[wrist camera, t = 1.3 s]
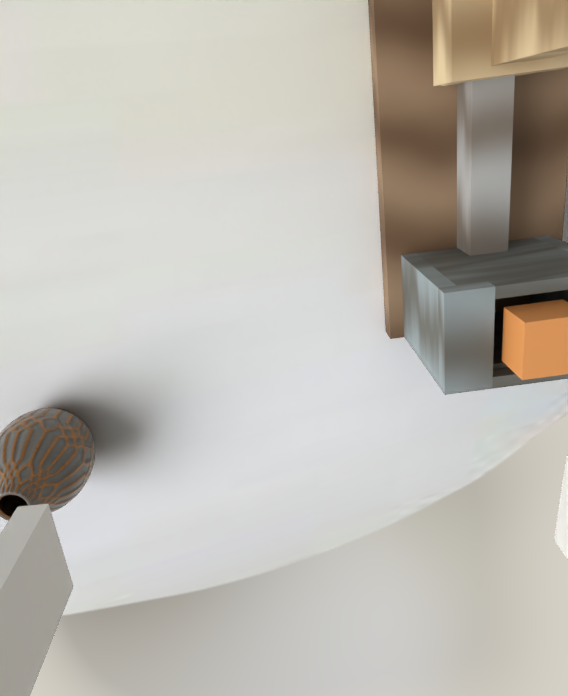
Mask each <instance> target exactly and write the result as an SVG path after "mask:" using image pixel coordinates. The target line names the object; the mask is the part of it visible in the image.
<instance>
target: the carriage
mask: <svg viewBox="0 0 568 696" xmlns="http://www.w3.org/2000/svg"><path fill="white" fill-rule="evenodd" d="M432 16H433V86H439V85H441V86H446V85H454V84H459V83H464V82H469V81H476V80H484V79H491V78H499V77H506V76H514V75H515V76H521V75H527V74H532V73H537V72H544V71H551V70H559V69H564V68H568V0H432Z"/></svg>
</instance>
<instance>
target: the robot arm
mask: <svg viewBox="0 0 568 696" xmlns="http://www.w3.org/2000/svg"><path fill="white" fill-rule="evenodd" d="M554 541H555V542H556V543H557V545H558V546H559V548H560V549H561V550H562V552H563V553H564V555H565V556H566V557H567V559H568V455H567V456H566V463H565V469H564V476H563V483H562V490H561V497H560V503H559V510H558V517H557V524H556V531H555V538H554ZM72 589H73V583H72V580H71V577H70V573H69V570H68V567H67V563H66V560H65V557H64V554H63V550H62V547H61V544H60V540H59V537H58V534H57V531H56V527H55V524H54V521H53V517H52V514H51V511H50V508H49V504H40V505H29V506H19V507H17V508H16V510H15V512H14V513H13V515H12V516H11V518H10V520H9V521H8V523H7V524H6V526H5V528H4V529H3V531H2V532H1V534H0V696H30V694H31V692H32V689H33V687H34V684H35V681H36V679H37V677H38V674H39V672H40V669H41V667H42V664H43V662H44V659H45V657H46V654H47V651H48V649H49V646H50V644H51V641H52V639H53V636H54V634H55V631H56V629H57V626H58V624H59V621H60V619H61V616H62V614H63V611H64V609H65V606H66V604H67V601H68V599H69V596H70V594H71V591H72Z"/></svg>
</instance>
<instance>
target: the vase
mask: <svg viewBox="0 0 568 696" xmlns="http://www.w3.org/2000/svg"><path fill="white" fill-rule="evenodd" d="M94 459H95V446H94V441H93V437H92V434H91V432H90V430H89V429H88V427H87V426H86V425H85V424H84V423H83V422H82V421H81V420H80V419H79V418H78V417H76V416H75V415H73V414H71V413H69V412H66V411H63V410H60V409H53V408H44V409H38V410H34V411H31V412H28V413H26V414H24V415H22V416H20V417H18V418H17V419H15V420H14V421H12V422H11V423H10V424H9V425H8V426H7V427H6V428H5V429H4V430H3V431H2V432H1V433H0V517H2V518H3V519H6V520H8V521H9V520H10V518H11V516H12V515H13V513H14V512H15V510H16V508H17V507H19V506H29V505H40V504H49V508H50V511H51V512H53V511H55V510H58V509H59V508H61V507H63V506H64V505H66V504H67V503H68V502H70V501H71V500H72V499H73V498H74V497H75V496H76V495H77V494H78V493H79V492H80V491H81V490H82V488H83V487H84V485H85V484H86V482H87V480H88V478H89V476H90V474H91V471H92V468H93V465H94Z"/></svg>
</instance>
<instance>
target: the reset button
mask: <svg viewBox="0 0 568 696" xmlns="http://www.w3.org/2000/svg"><path fill="white" fill-rule="evenodd" d="M502 361H503V362H504V363H505V364H506V365H507V366H508V367H509V368H510V369H511V370H512V371H513V372H514V373H515V374H516V375H517V376H518V377H519V378H520V379H521V380H527V379H535V378H542V377H550V376H558V375H565V374H568V302H566V301H565V300H563V299H561V300H554V301H546V302H538V303H531V304H523V305H516V306H508V307H504V314H503V341H502Z"/></svg>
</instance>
